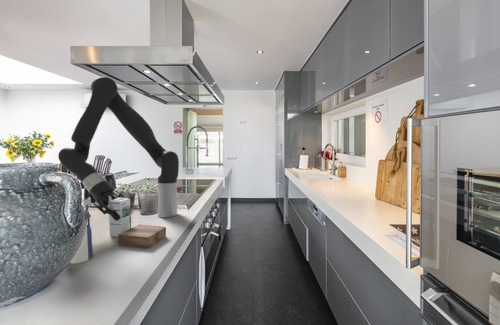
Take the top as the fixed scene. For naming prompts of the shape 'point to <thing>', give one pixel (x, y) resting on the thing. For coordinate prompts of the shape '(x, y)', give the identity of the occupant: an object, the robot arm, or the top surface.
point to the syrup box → (124, 212)
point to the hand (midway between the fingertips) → (124, 217)
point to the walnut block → (142, 236)
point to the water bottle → (86, 247)
